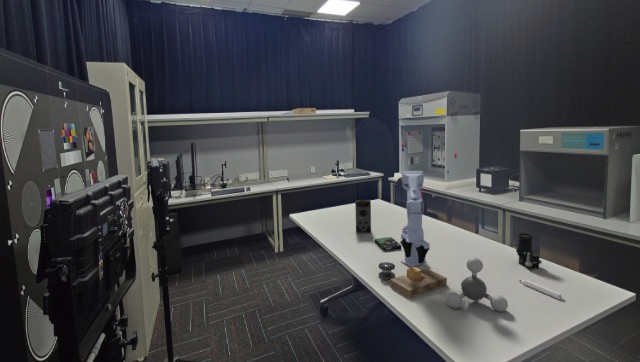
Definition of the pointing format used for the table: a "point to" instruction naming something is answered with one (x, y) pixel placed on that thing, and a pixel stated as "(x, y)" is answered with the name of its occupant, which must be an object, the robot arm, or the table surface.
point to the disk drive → (388, 244)
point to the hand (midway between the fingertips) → (414, 259)
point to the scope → (527, 252)
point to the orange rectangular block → (414, 274)
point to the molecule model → (475, 289)
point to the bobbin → (386, 271)
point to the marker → (541, 289)
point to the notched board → (418, 283)
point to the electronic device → (363, 216)
